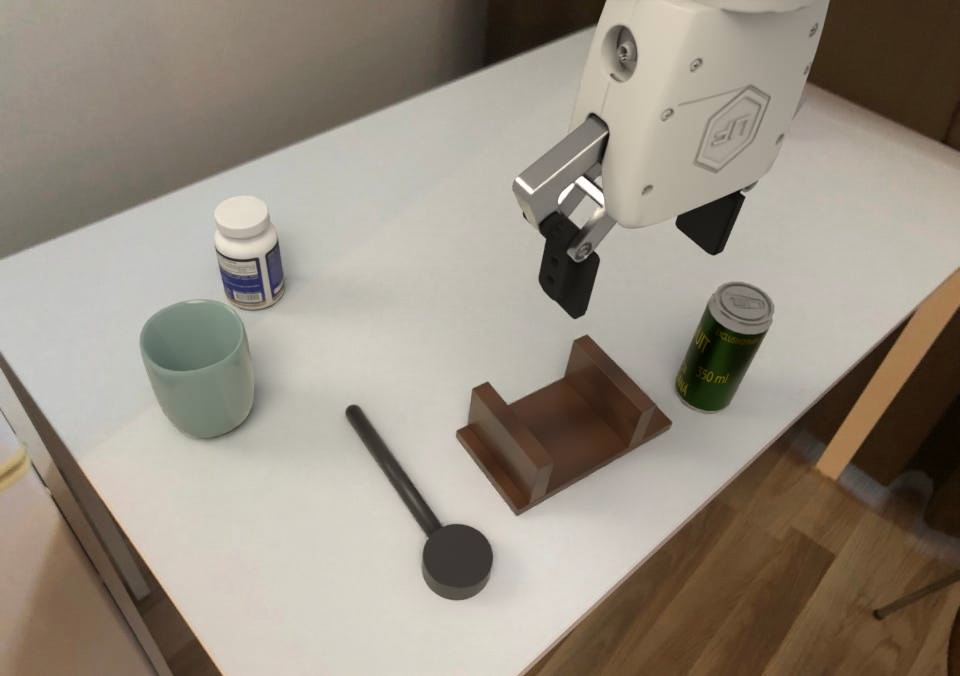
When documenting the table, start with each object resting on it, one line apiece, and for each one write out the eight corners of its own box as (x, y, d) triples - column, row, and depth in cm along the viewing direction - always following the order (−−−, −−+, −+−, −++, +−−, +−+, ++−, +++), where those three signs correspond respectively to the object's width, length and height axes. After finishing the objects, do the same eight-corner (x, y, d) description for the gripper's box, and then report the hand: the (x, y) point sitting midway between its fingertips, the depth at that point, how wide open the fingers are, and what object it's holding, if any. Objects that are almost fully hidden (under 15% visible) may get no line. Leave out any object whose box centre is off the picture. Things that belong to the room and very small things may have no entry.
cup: (155, 394, 68) (128, 314, 61) (245, 367, 71) (229, 287, 64) (177, 464, 64) (150, 386, 57) (272, 433, 67) (258, 354, 60)
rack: (670, 428, 71) (689, 386, 67) (516, 516, 64) (526, 475, 59) (605, 362, 76) (619, 318, 71) (455, 437, 68) (460, 393, 64)
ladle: (376, 399, 70) (376, 385, 69) (503, 578, 60) (506, 565, 59) (322, 424, 68) (321, 410, 66) (445, 613, 58) (447, 601, 56)
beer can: (726, 374, 76) (771, 283, 67) (734, 419, 72) (782, 329, 64) (670, 367, 76) (708, 275, 67) (675, 412, 72) (716, 321, 63)
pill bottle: (263, 263, 81) (251, 183, 73) (297, 294, 78) (288, 214, 71) (213, 288, 78) (195, 207, 70) (246, 321, 75) (231, 240, 68)
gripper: (632, 17, 24) (546, 379, 36) (957, -66, 31) (793, 258, 44) (490, -76, 28) (457, 280, 40) (809, -130, 35) (697, 184, 48)
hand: (632, 268), depth 42 cm, fingers open, 9 cm apart
